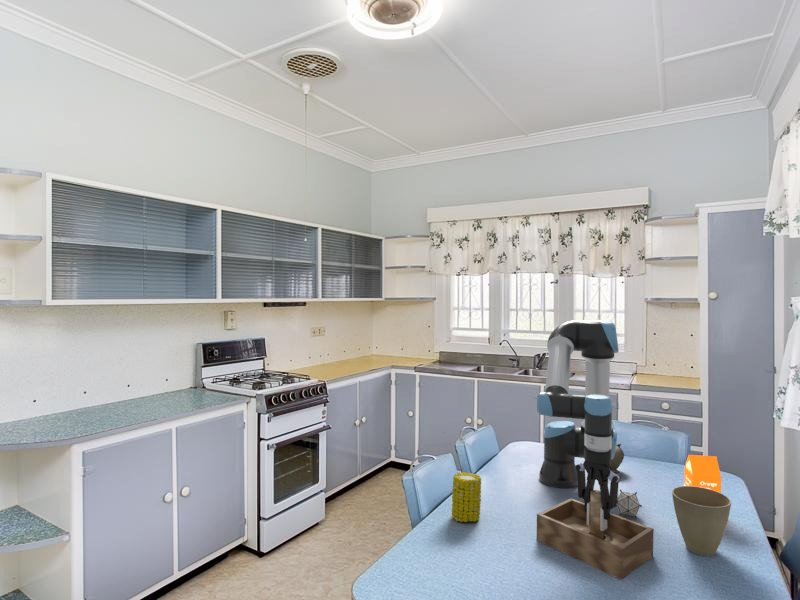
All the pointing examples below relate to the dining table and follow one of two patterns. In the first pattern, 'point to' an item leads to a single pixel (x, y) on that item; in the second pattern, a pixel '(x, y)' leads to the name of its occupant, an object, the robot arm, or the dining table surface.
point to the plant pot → (701, 517)
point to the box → (596, 539)
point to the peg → (595, 514)
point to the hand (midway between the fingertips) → (596, 526)
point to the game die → (628, 503)
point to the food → (466, 497)
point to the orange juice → (702, 472)
